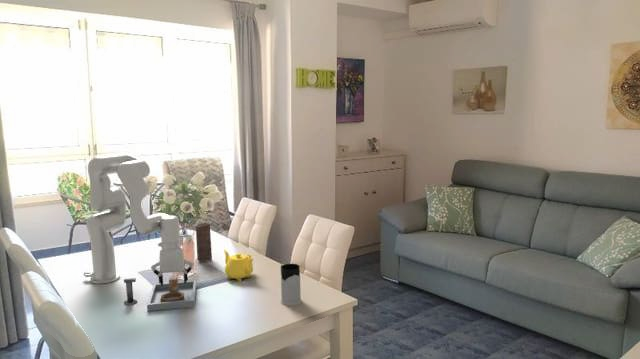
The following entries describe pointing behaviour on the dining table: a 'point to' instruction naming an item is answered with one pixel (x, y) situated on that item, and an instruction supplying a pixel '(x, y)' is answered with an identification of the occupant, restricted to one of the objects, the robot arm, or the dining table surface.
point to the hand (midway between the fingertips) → (173, 283)
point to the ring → (173, 290)
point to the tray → (159, 290)
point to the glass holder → (290, 285)
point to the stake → (129, 291)
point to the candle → (203, 242)
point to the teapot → (238, 266)
